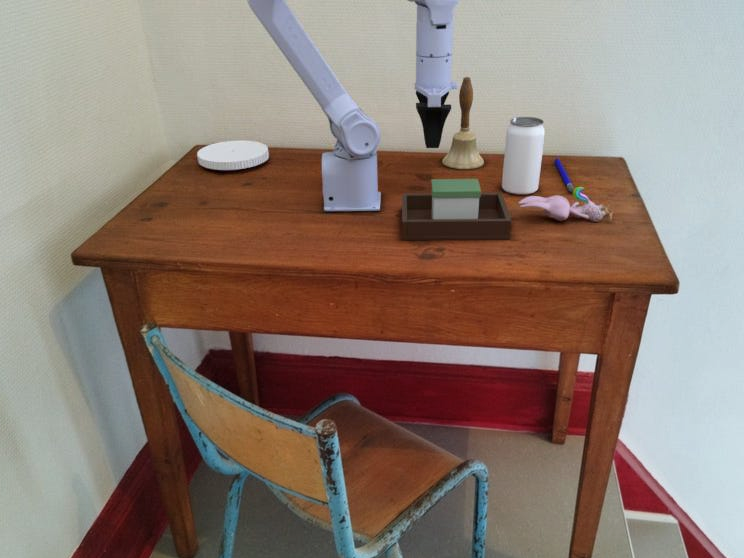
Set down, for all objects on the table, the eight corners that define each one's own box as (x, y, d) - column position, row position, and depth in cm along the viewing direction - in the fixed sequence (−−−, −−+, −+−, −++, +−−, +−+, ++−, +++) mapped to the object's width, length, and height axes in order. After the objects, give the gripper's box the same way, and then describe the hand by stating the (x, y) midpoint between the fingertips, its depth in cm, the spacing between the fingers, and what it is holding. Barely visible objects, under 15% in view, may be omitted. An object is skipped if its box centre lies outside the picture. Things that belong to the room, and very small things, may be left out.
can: (537, 196, 116) (546, 127, 109) (500, 194, 117) (506, 125, 110) (538, 184, 121) (546, 116, 114) (502, 182, 122) (508, 115, 115)
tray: (402, 240, 102) (402, 221, 100) (401, 211, 111) (401, 193, 110) (509, 239, 101) (511, 220, 100) (500, 210, 111) (501, 192, 109)
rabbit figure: (599, 219, 111) (512, 207, 109) (611, 184, 107) (522, 172, 106) (610, 234, 106) (520, 222, 104) (623, 199, 102) (530, 186, 101)
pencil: (573, 193, 116) (574, 187, 116) (568, 193, 117) (569, 187, 116) (558, 161, 130) (558, 156, 130) (553, 161, 130) (554, 156, 130)
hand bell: (486, 169, 128) (492, 82, 119) (443, 169, 128) (446, 82, 119) (481, 155, 135) (487, 72, 125) (440, 156, 135) (443, 72, 126)
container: (431, 228, 104) (432, 191, 101) (430, 214, 108) (431, 179, 105) (478, 227, 104) (481, 191, 100) (475, 214, 108) (477, 178, 105)
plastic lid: (245, 148, 141) (243, 136, 140) (283, 163, 133) (281, 150, 131) (186, 163, 134) (184, 151, 132) (222, 180, 125) (220, 167, 124)
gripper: (462, 63, 99) (457, 153, 106) (456, 45, 110) (453, 128, 118) (414, 63, 99) (414, 154, 107) (414, 46, 111) (413, 128, 118)
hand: (431, 140), depth 112 cm, fingers open, 7 cm apart
